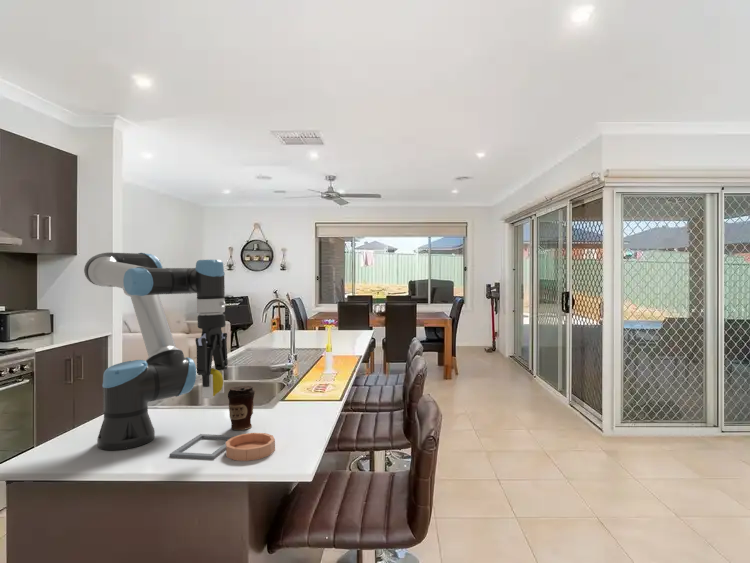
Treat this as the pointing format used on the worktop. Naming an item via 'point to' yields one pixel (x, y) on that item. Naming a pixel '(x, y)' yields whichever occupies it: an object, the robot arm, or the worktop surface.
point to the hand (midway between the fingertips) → (213, 395)
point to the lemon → (216, 381)
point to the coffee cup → (241, 407)
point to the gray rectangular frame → (215, 454)
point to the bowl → (250, 446)
